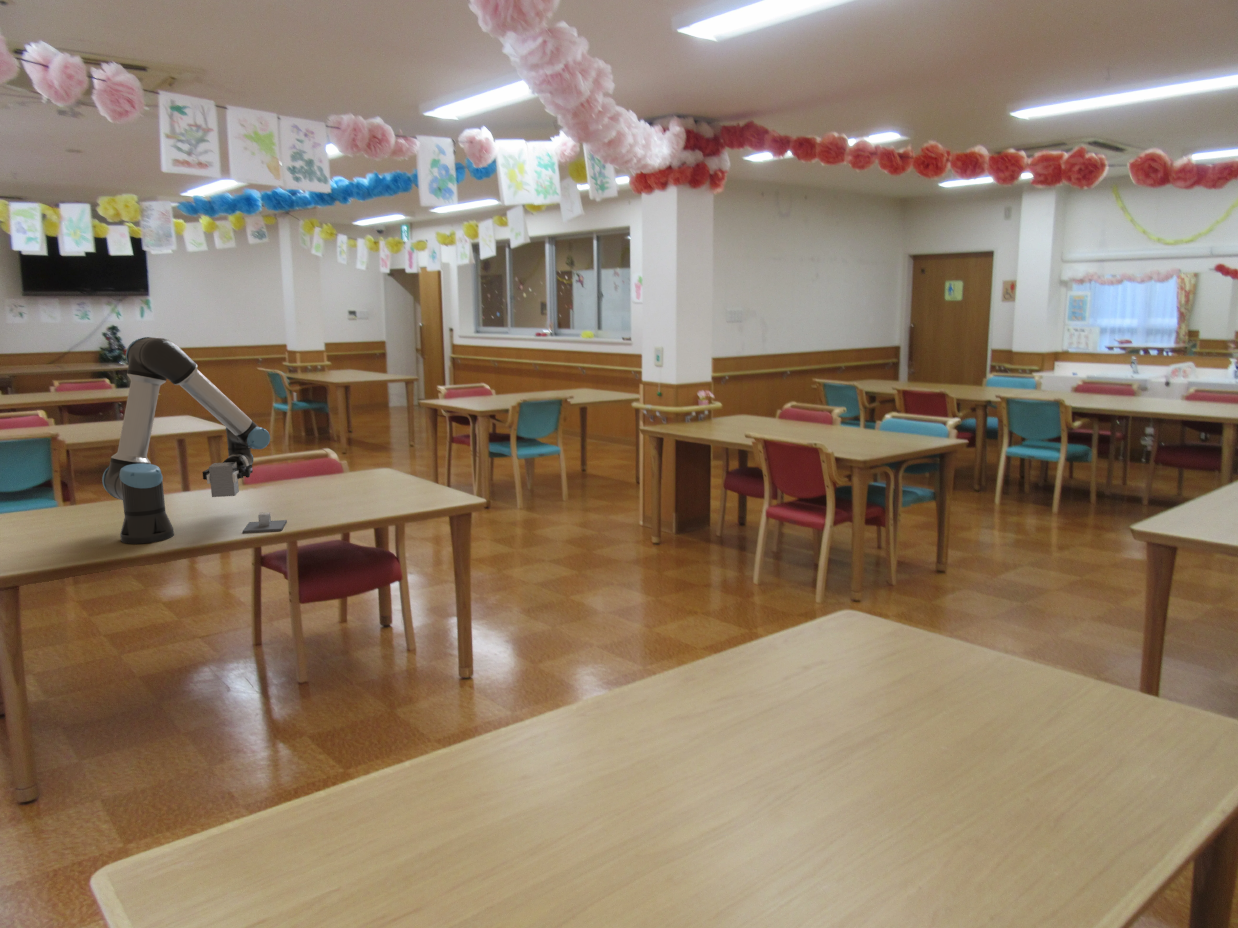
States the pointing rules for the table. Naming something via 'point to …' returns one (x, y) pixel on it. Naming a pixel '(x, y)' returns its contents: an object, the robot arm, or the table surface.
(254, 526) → the base plate
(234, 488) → the grey upright block
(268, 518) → the post
